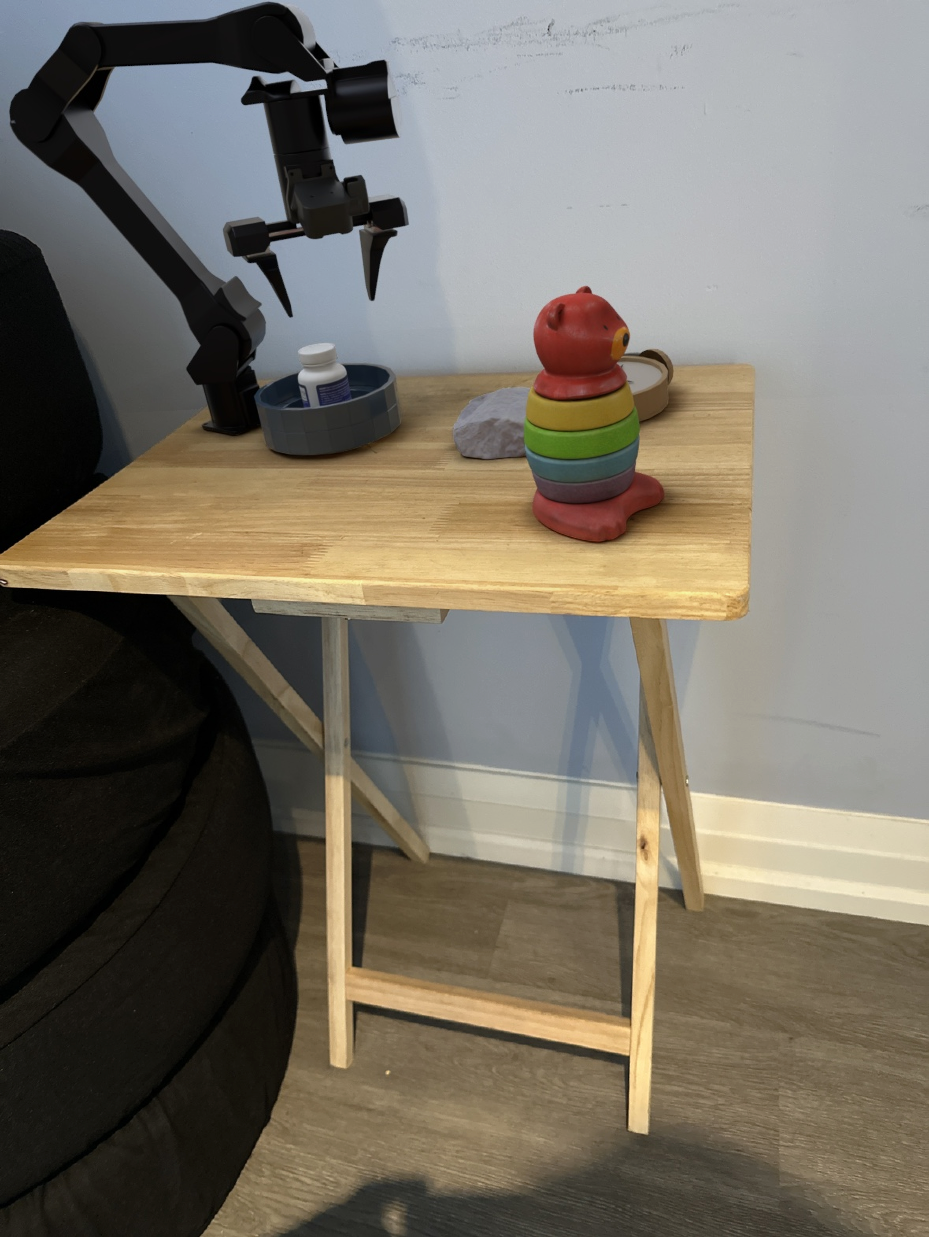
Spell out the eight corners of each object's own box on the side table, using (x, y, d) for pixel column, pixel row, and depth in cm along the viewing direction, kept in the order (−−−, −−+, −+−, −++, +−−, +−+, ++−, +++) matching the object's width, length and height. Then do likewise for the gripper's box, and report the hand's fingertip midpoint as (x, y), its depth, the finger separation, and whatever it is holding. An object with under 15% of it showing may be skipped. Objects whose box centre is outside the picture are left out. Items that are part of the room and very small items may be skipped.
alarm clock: (544, 399, 95) (586, 331, 105) (550, 440, 98) (590, 371, 108) (652, 401, 91) (685, 331, 100) (655, 445, 94) (687, 372, 104)
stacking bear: (609, 547, 72) (599, 316, 63) (504, 524, 78) (481, 309, 69) (673, 493, 79) (672, 278, 70) (572, 475, 85) (559, 274, 76)
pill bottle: (364, 419, 104) (349, 340, 99) (344, 437, 99) (328, 355, 95) (322, 419, 105) (306, 341, 101) (300, 436, 101) (282, 356, 97)
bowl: (238, 448, 102) (225, 400, 99) (334, 403, 112) (325, 358, 109) (334, 469, 93) (323, 417, 91) (430, 418, 103) (423, 369, 100)
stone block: (455, 477, 92) (551, 454, 89) (440, 431, 90) (538, 407, 87) (478, 436, 102) (565, 415, 99) (464, 395, 100) (553, 372, 97)
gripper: (219, 170, 85) (259, 341, 93) (412, 139, 89) (434, 305, 97) (205, 164, 94) (243, 320, 102) (381, 135, 98) (404, 287, 106)
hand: (331, 308), depth 101 cm, fingers open, 9 cm apart
